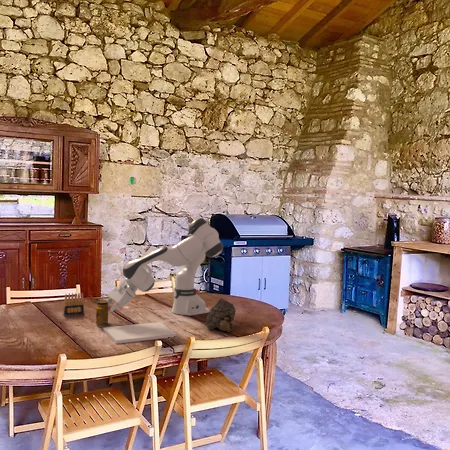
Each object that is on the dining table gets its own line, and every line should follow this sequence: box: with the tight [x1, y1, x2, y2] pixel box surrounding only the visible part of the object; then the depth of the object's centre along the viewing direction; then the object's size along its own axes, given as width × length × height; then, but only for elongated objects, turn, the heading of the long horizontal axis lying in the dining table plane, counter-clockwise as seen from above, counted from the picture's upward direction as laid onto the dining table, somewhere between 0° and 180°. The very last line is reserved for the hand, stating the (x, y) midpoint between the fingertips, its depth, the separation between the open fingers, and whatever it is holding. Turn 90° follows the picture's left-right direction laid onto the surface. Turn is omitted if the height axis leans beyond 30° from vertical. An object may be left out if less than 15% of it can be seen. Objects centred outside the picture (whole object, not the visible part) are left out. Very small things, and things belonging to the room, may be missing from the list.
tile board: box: [102, 321, 178, 344], centre depth 238 cm, size 30×22×2 cm
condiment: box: [93, 300, 114, 328], centre depth 251 cm, size 7×8×12 cm
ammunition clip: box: [63, 292, 85, 316], centre depth 268 cm, size 11×2×12 cm, turn 120°
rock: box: [204, 298, 237, 333], centre depth 252 cm, size 18×14×15 cm
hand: (107, 308), depth 251 cm, fingers open, 8 cm apart
